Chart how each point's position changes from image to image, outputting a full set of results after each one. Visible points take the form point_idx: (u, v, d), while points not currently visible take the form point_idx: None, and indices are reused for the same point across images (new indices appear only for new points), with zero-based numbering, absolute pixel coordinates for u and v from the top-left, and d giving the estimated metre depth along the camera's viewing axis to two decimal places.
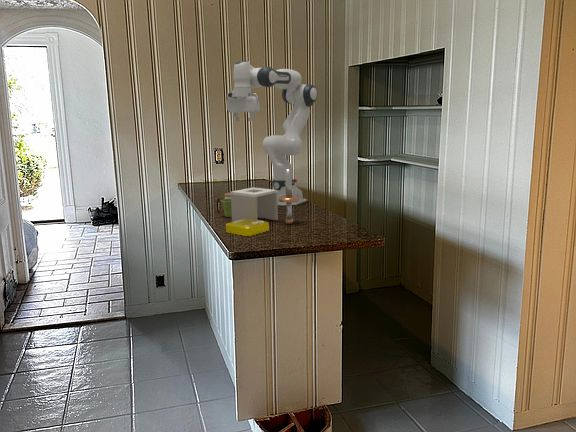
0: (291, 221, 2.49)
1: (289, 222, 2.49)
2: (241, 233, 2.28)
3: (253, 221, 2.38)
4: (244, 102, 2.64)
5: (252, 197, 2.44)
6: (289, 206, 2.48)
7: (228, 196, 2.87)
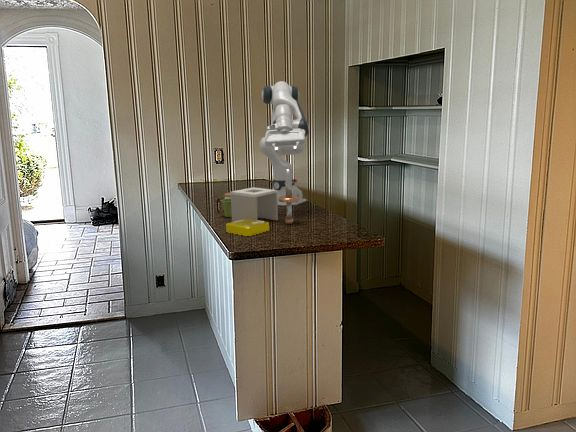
0: (291, 221, 2.49)
1: (289, 222, 2.49)
2: (241, 233, 2.28)
3: (253, 221, 2.38)
4: (289, 133, 2.60)
5: (252, 197, 2.44)
6: (289, 206, 2.48)
7: (228, 196, 2.87)
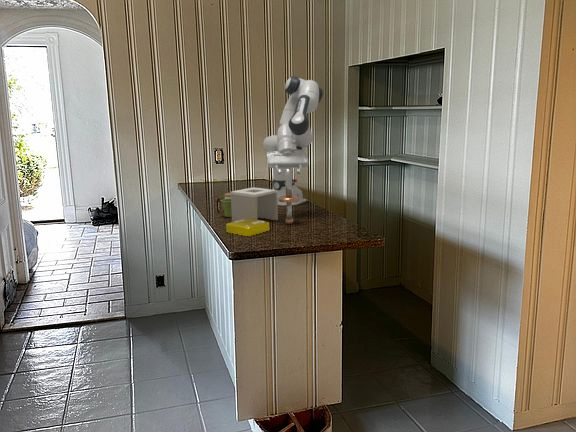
0: (291, 221, 2.49)
1: (289, 222, 2.49)
2: (241, 233, 2.28)
3: (253, 221, 2.38)
4: None
5: (252, 197, 2.44)
6: (289, 206, 2.48)
7: (228, 196, 2.87)
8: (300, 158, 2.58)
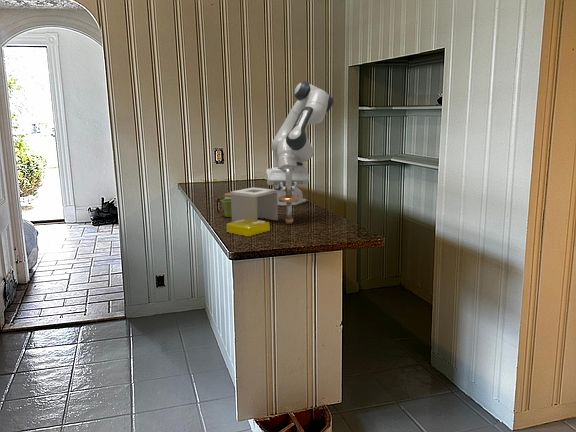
0: (291, 221, 2.49)
1: (289, 222, 2.49)
2: (242, 233, 2.28)
3: (254, 221, 2.38)
4: None
5: (252, 197, 2.44)
6: (289, 206, 2.48)
7: (228, 196, 2.87)
8: (300, 175, 2.50)
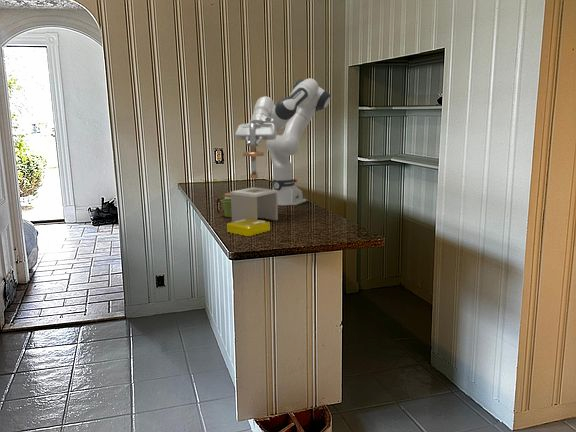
0: (254, 176, 2.50)
1: (252, 177, 2.50)
2: (242, 233, 2.28)
3: (254, 221, 2.38)
4: None
5: (252, 197, 2.44)
6: (252, 161, 2.49)
7: (228, 196, 2.87)
8: (267, 130, 2.49)
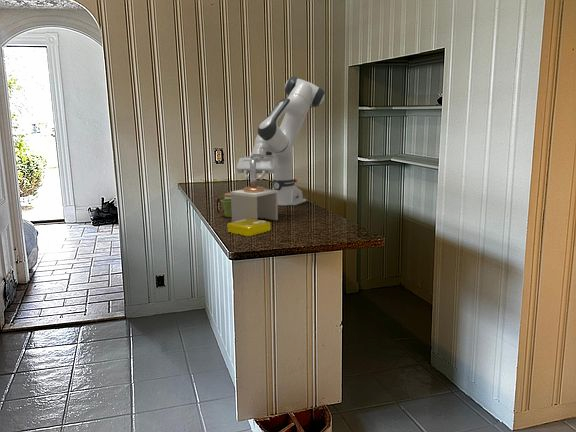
0: None
1: None
2: (242, 233, 2.28)
3: (255, 221, 2.38)
4: None
5: (252, 197, 2.44)
6: None
7: (228, 196, 2.87)
8: (267, 164, 2.53)
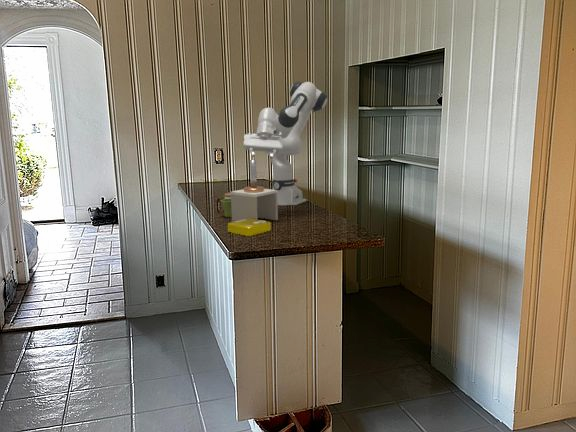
0: None
1: None
2: (242, 233, 2.28)
3: (255, 221, 2.38)
4: None
5: (252, 197, 2.44)
6: None
7: (228, 196, 2.87)
8: (276, 143, 2.59)
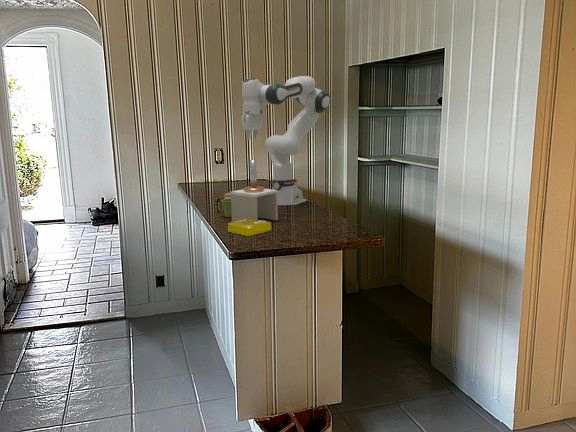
0: None
1: None
2: (242, 233, 2.28)
3: (255, 221, 2.38)
4: None
5: (252, 197, 2.44)
6: None
7: (228, 196, 2.87)
8: (259, 123, 2.71)
